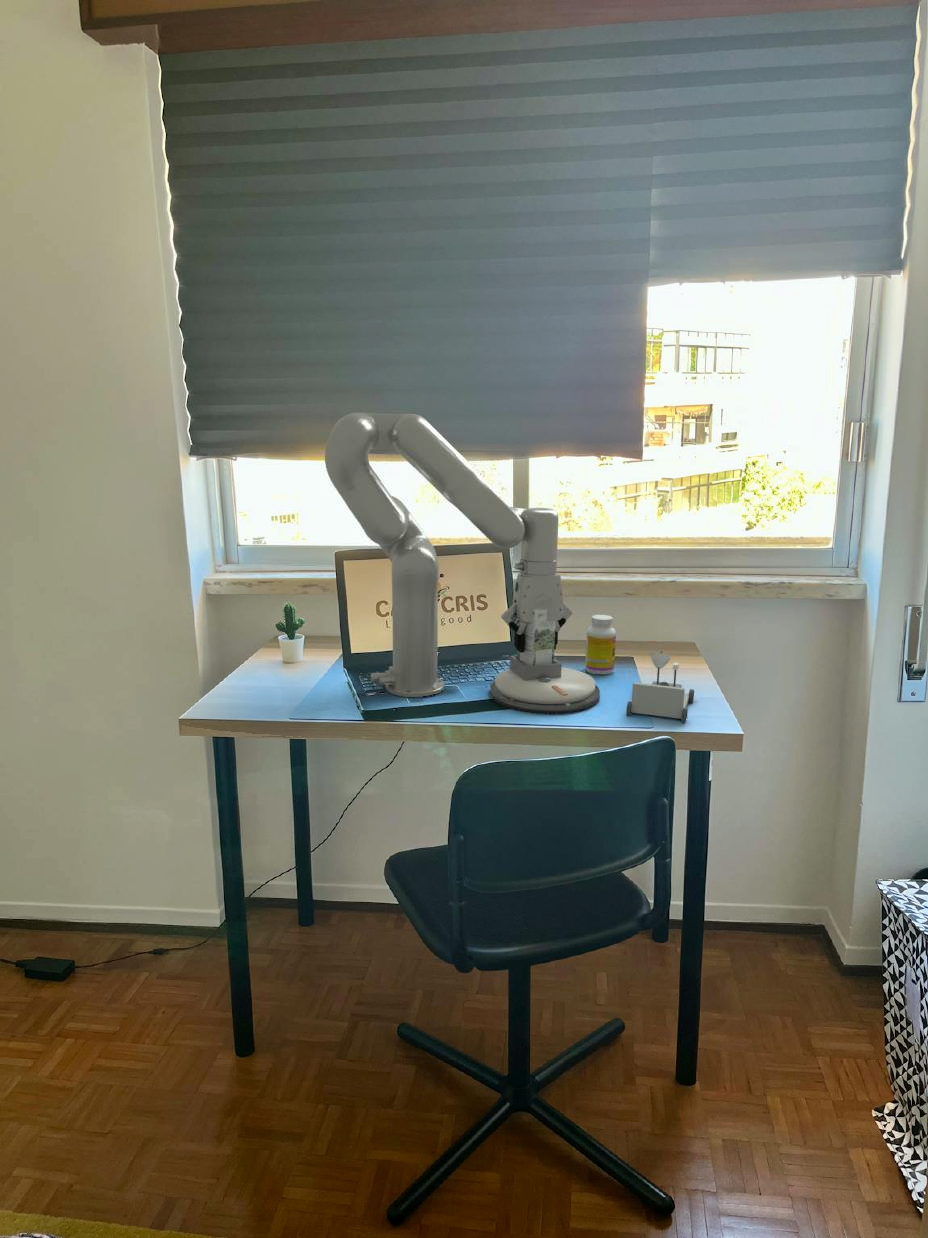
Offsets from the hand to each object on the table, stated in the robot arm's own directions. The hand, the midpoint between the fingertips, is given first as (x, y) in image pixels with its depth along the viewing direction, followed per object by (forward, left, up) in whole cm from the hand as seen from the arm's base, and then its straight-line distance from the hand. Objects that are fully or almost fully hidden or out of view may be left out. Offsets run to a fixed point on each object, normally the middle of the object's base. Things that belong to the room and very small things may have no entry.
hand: (535, 648), depth 194 cm
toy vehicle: (+21, -18, -9) cm, 29 cm away
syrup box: (0, 0, -5) cm, 5 cm away
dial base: (0, -5, -9) cm, 10 cm away
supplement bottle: (+19, +7, -9) cm, 22 cm away
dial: (0, -5, -7) cm, 9 cm away
